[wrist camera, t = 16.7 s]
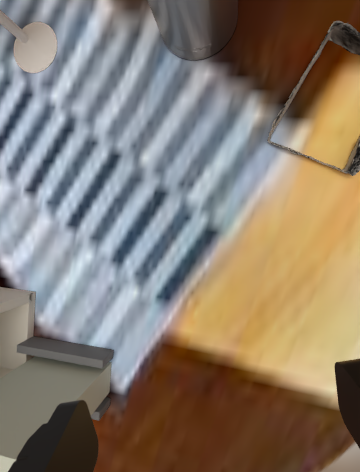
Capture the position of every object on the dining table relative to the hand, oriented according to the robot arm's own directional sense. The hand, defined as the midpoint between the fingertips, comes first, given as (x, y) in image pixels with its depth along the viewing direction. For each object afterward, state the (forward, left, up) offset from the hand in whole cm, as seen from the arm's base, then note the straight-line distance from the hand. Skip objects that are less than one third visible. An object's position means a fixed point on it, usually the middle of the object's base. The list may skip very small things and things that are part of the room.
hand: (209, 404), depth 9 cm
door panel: (+15, -19, -25) cm, 35 cm away
